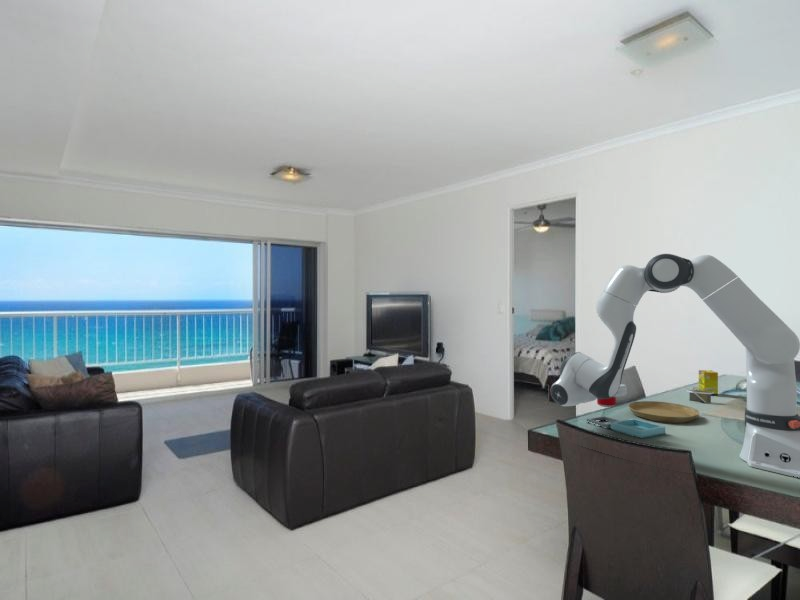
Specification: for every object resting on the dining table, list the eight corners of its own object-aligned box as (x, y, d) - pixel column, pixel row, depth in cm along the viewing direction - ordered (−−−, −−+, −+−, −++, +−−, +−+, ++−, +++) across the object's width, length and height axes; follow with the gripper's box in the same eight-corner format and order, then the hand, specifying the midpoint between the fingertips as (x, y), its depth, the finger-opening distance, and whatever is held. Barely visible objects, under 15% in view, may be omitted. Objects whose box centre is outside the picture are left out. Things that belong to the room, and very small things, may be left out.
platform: (726, 408, 196) (726, 392, 196) (676, 403, 205) (676, 388, 205) (723, 402, 207) (723, 387, 207) (676, 398, 216) (676, 383, 216)
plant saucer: (695, 428, 166) (695, 419, 166) (621, 418, 180) (621, 409, 180) (702, 414, 185) (702, 406, 185) (634, 406, 199) (634, 398, 199)
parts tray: (665, 433, 159) (665, 426, 159) (641, 438, 153) (641, 431, 153) (633, 425, 169) (633, 418, 169) (610, 429, 164) (610, 422, 164)
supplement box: (698, 392, 225) (698, 369, 225) (711, 393, 224) (711, 370, 224) (704, 395, 219) (704, 371, 219) (718, 395, 218) (718, 372, 218)
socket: (624, 425, 169) (624, 421, 169) (607, 429, 165) (607, 424, 165) (603, 419, 177) (603, 415, 177) (586, 422, 173) (586, 418, 173)
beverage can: (606, 403, 175) (605, 371, 175) (619, 406, 169) (619, 373, 169) (593, 404, 172) (592, 372, 172) (606, 408, 166) (606, 374, 166)
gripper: (614, 384, 154) (635, 379, 163) (560, 376, 171) (582, 372, 179) (614, 403, 154) (635, 397, 163) (560, 393, 171) (582, 389, 179)
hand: (607, 384), depth 171 cm, fingers closed on beverage can, 6 cm apart
